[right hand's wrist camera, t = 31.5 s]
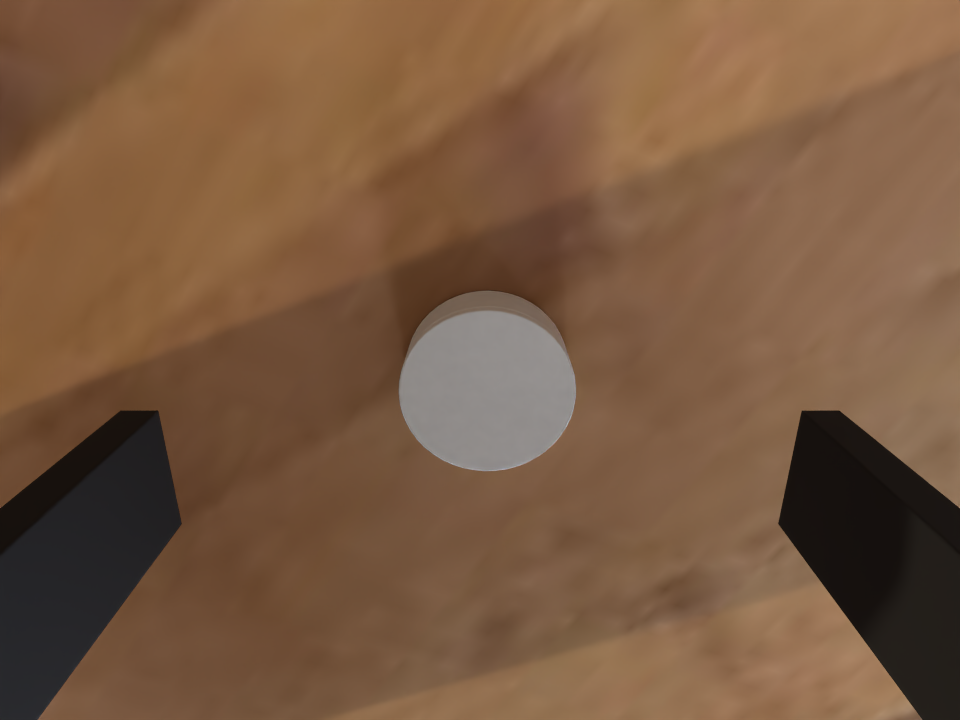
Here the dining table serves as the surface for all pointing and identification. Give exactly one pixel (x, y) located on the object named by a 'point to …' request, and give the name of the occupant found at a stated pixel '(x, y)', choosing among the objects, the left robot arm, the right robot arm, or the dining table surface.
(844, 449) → the right robot arm
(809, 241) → the dining table surface
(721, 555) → the dining table surface
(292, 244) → the dining table surface
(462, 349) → the cap
